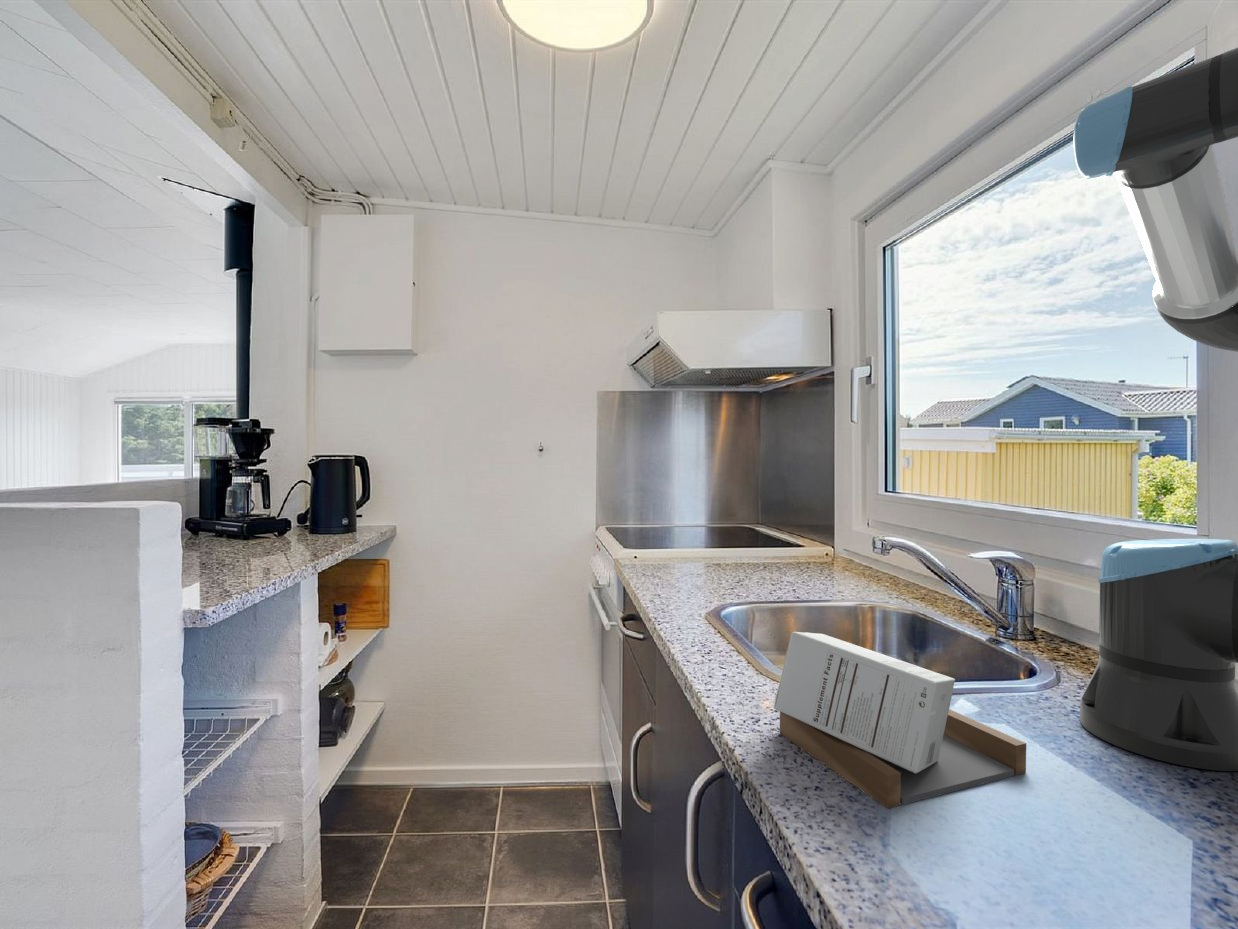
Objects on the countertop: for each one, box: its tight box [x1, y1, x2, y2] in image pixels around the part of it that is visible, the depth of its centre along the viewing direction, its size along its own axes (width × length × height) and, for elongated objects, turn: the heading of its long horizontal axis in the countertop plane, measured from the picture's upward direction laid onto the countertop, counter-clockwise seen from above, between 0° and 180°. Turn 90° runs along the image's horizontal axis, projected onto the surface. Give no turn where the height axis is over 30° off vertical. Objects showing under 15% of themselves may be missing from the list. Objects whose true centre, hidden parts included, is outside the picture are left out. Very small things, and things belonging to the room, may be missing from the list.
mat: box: [862, 735, 1015, 806], centre depth 65 cm, size 15×16×1 cm
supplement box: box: [773, 631, 956, 773], centre depth 64 cm, size 9×9×15 cm
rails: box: [779, 708, 1027, 809], centre depth 65 cm, size 18×16×3 cm
